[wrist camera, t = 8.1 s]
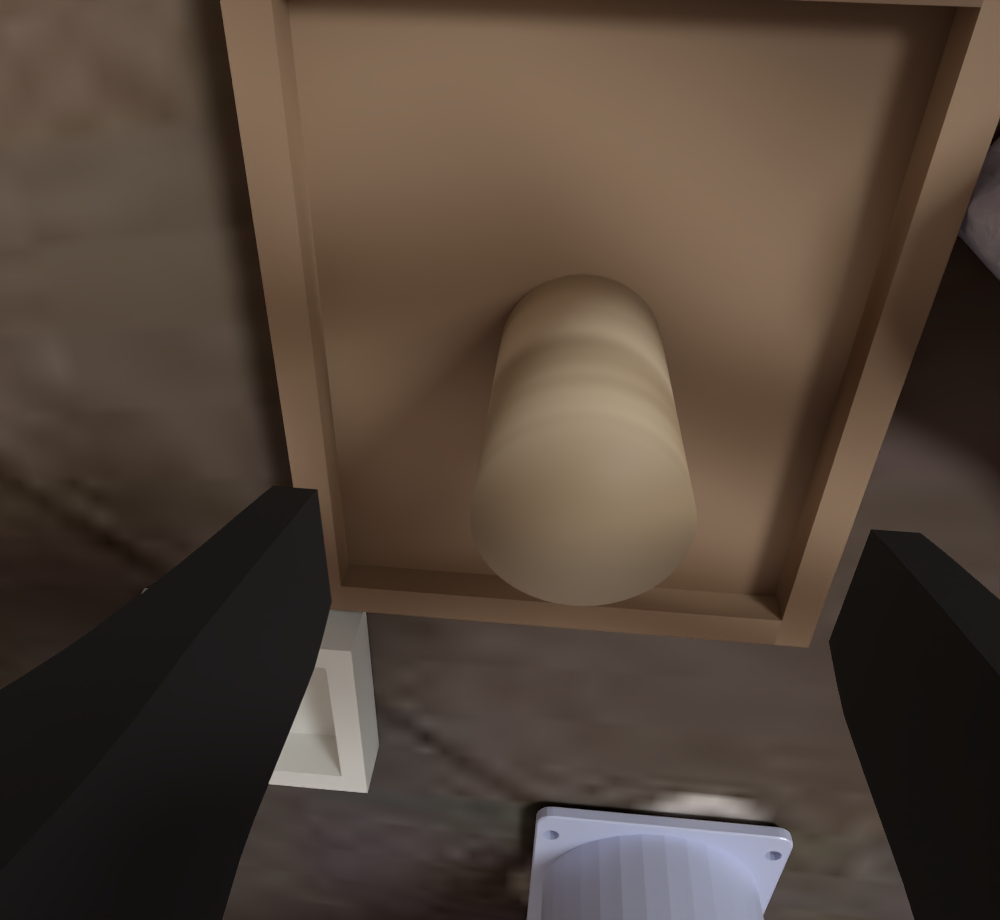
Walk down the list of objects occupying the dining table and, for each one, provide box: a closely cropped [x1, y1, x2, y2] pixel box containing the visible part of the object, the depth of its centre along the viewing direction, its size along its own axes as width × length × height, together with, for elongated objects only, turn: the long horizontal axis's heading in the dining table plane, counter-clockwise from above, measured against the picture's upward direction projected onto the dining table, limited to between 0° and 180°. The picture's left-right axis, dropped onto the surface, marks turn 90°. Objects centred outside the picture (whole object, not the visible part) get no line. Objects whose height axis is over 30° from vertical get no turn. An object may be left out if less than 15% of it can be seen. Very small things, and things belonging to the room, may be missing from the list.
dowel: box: [470, 274, 697, 606], centre depth 13 cm, size 3×3×6 cm
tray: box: [220, 0, 1000, 647], centre depth 16 cm, size 14×12×1 cm
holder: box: [142, 588, 379, 793], centre depth 22 cm, size 6×6×2 cm
